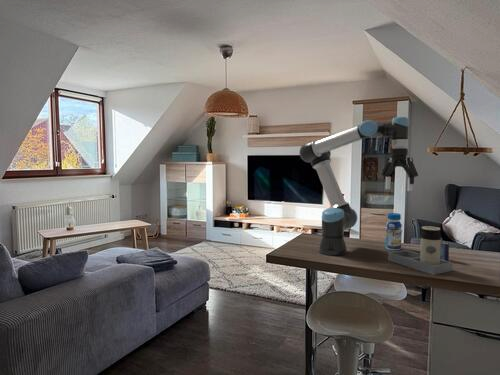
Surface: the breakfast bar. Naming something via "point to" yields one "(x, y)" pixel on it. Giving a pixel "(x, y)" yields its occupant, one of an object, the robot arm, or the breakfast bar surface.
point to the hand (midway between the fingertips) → (398, 189)
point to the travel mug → (430, 245)
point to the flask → (444, 251)
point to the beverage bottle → (393, 232)
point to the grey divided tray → (418, 262)
